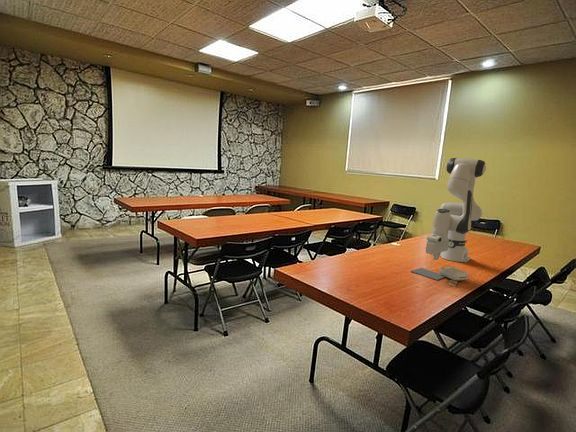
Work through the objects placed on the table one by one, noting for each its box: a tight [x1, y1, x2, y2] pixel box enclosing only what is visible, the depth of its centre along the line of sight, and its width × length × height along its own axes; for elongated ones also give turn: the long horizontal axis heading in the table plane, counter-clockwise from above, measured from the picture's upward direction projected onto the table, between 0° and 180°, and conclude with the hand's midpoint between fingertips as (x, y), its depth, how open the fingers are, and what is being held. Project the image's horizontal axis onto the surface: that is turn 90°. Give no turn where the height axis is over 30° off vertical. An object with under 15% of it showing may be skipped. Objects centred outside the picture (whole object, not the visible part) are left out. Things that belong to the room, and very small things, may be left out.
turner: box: [447, 279, 459, 287], centre depth 180 cm, size 16×4×1 cm, turn 144°
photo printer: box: [439, 266, 470, 281], centre depth 184 cm, size 10×4×12 cm
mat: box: [410, 267, 447, 281], centre depth 189 cm, size 12×16×1 cm
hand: (435, 259), depth 192 cm, fingers closed
